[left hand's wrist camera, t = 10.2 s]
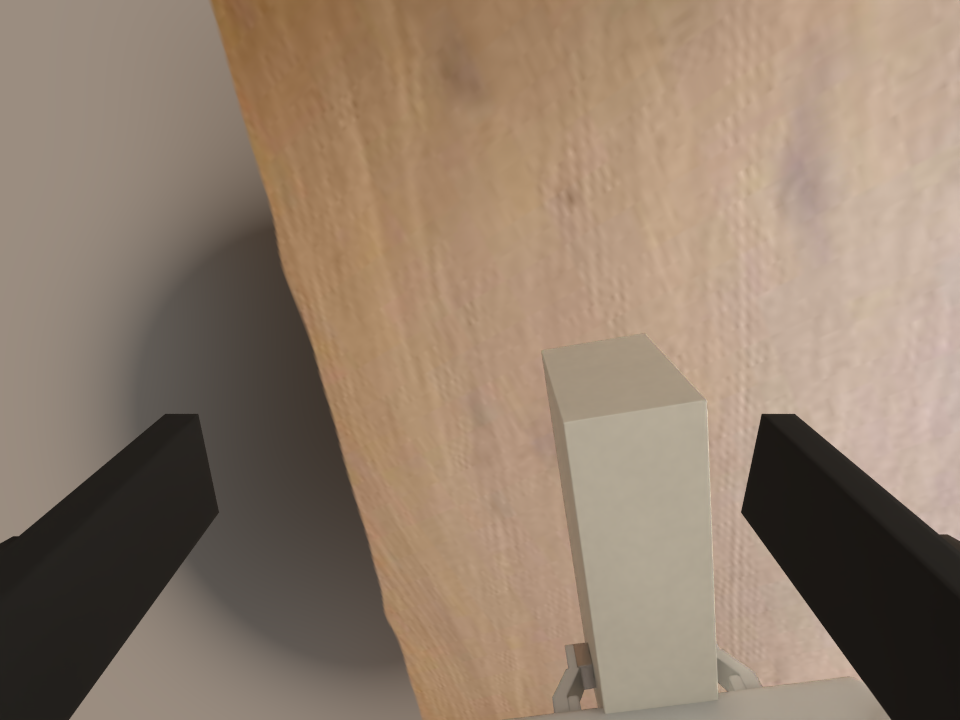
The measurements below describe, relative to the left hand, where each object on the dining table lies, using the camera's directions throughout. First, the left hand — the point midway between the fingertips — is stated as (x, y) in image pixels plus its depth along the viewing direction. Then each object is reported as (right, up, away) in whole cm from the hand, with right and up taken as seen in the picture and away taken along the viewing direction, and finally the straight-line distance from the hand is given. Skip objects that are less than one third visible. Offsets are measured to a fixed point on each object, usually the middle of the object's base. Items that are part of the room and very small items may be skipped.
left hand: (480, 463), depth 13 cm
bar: (+8, -7, +19) cm, 22 cm away
